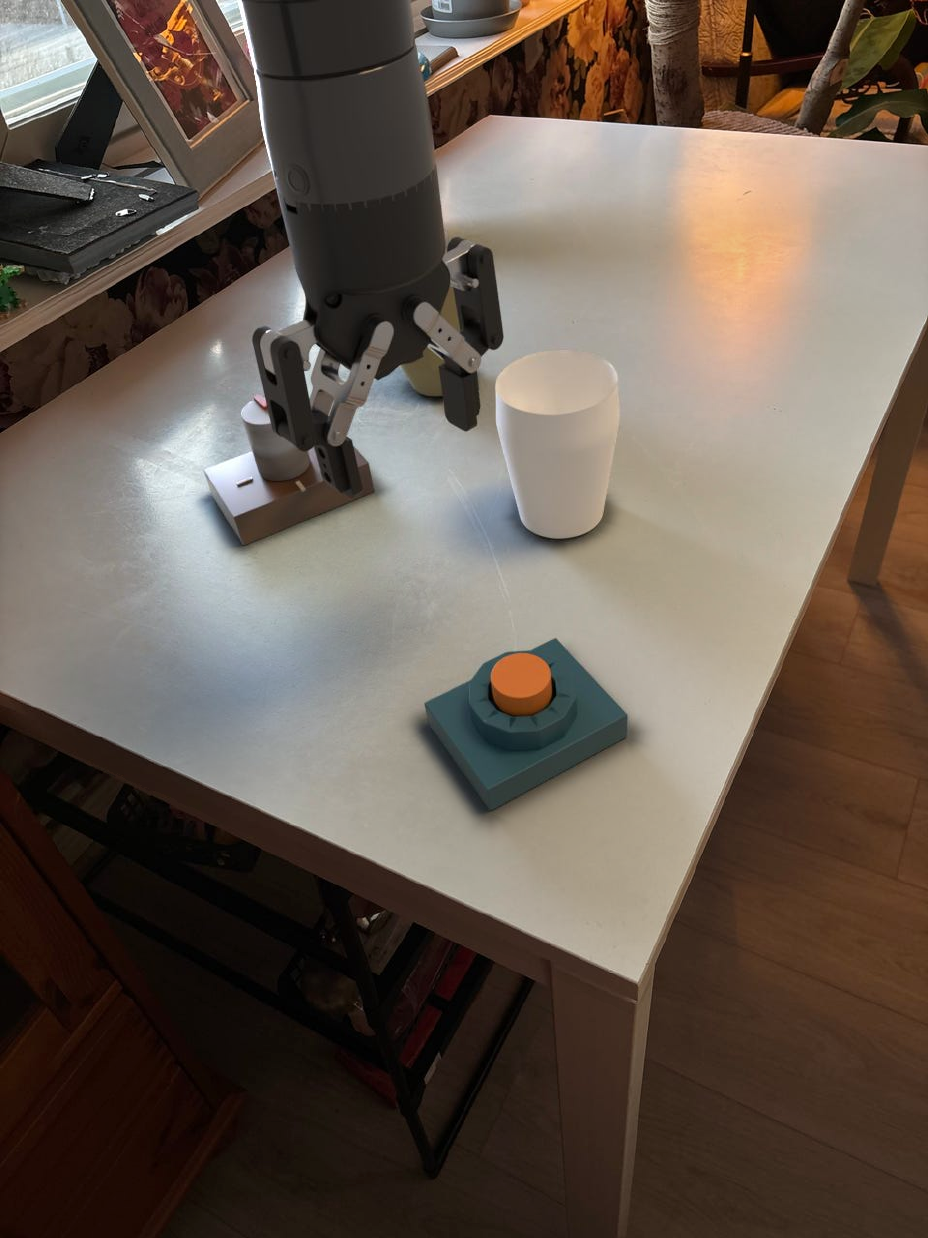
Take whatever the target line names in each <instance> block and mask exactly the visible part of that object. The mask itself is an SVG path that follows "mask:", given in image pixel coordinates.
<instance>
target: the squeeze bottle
mask: <svg viewBox="0 0 928 1238" xmlns="http://www.w3.org/2000/svg"><path fill="white" fill-rule="evenodd" d="M444 233H445V242H446V250H445V253H447V246H448V243H449V242H450V236H449V231H448V230H447V229H445V228H444ZM440 315H441V316H442V317H443V318H444V319H445V320H446V321H447V322H448V323H449V324H450V325H451V326H453V327H454V328H455V329H456V330H457V331H458V332H459V333H460V326H459V320H458V314H457V308H456V302H455V297H454V291H453V286H451V285H450V287H449V290H448V293H447V296H446V299H445V302H444V304H443V307H442V310H441V313H440ZM443 363H445V362H444V360H443V359H441V358H440V357H438V356H437V355H436V354H435V353H434V352H433V351H431V350H430V349H429V348H428V347H427V348H426V349H425V350H424V351H423V357H422V358H420V359H418V360H416V361H415V362H413V363H408V364H403V365H400V366H399V367H401V369H402V371H403V373H404V374H405V377H406V378H407V380H408V382H409V384H410V385H411V387H412V389H414V390H415V391H416V393H418V394H421V395H424V396H427V397H443V396H442V389H441V382H440V374H439V367H438V366H440V365H441V364H443Z"/></svg>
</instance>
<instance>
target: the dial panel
mask: <svg viewBox="0 0 928 1238" xmlns="http://www.w3.org/2000/svg"><path fill="white" fill-rule="evenodd" d="M353 447H354V451H355V456H356V460H357V465H358V469H359V474H360V478H361V483H362V487H363V492H362V493H360V494H358V495H357V496H355V497H353V498H350V497H348V496H347V495H345V494H344V493H340V492H338V491H337V490H335V489H334V488H333V487H331V486H330V485H328V484H327V483H326V482H325V481H324V480H323V478H322V476H321V472H320V468H319V463H318V460H317V456H316V452H315V449H314V447H313V448H312V449H311V450H309V451H308V453H309V456H310V465H309V467H308V469H307V470H306V471H305V472H304V473H302V474H301V475H299V476H297V477H295V478H293V479H290V480H286V481H270V480H267V479H265V478H263V477H262V476H261V475H260V474H259V471H258V468H257V465H256V461H255V458H254V455H253V452H252V450H251V451H249V452H246V453H244V454H240V455H239V456H236V457H233V458H231V459H227V460H226V461H223V462H220V463H217V464H214V465H212V466H209V467H208V468H207V467H206V468H205V469H203V470H202V471H203V474H204V477H205V479H206V483H207V485H208V488H209V490H210V493H211V496H212V498H213V500H214V501H215V503H216V504H217V506H218V508H219V509H220V511H221V512H222V514H223V516H224V517H225V519H226V520H227V522H228V524H229V526H230V527H231V528H232V530H233V531H234V533H235V535H236V536H237V538H238V539H239V541H240V542H241V544H242V546H243V547H244V546H247V545H249V544H252V543H254V542H256V541H259V540H261V539H264V538H266V537H268V536H271V535H273V534H276V533H278V532H280V531H283V530H286V529H288V528H290V527H293V526H295V525H297V524H299V523H302V522H305V521H307V520H309V519H312V518H314V517H317V516H319V515H321V514H324V513H326V512H329V511H332V510H334V509H336V508H338V507H340V506H343V505H346V504H348V503H350V502H353V501H355V500H358V499H360V498H362V497H366V496H367V495H370V494H372V493H375V490H376V489H375V485H374V481H373V477H372V471H371V467H370V463H369V461H368V460H367V459H366V458H365V456H363V455H362V453H361V452H360V451H359V450H358V449H357V448H356V447H355V445H353Z"/></svg>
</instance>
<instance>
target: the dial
mask: <svg viewBox="0 0 928 1238" xmlns="http://www.w3.org/2000/svg"><path fill="white" fill-rule="evenodd" d="M240 413H241V414H240V418H241V420H242V424H243V427H244V430H245V433H246V437H247V439H248V442H249V446H250V449H251V451H252V452H253V455H254V458H255V461H256V465H257V468H258V471H259V474H260V475H261V476H262V477H263V478H265V479H267V480H270V481H286V480H290V479H293V478H295V477H297V476H299V475H301V474H302V473H304V472H305V471H306V470H307V469H308V467H309V465H310V456H309V453H308V451H301V450H299V449H298V448H296V447H295V446H294V445H293V444H292V443H290V442H289V441H287V440H286V439H285V438H283V437H280V436H279V435H277V434H276V433H275V432H274V431H273V430H272V426H271V422H270V417H269V413H268V409H267V404H266V400H265V395H264V396H263V395H261V394H256V395H253V397H252V400H251V401H249V402H247V404H245V406H244V407H243V408H242V410H241V412H240Z"/></svg>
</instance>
